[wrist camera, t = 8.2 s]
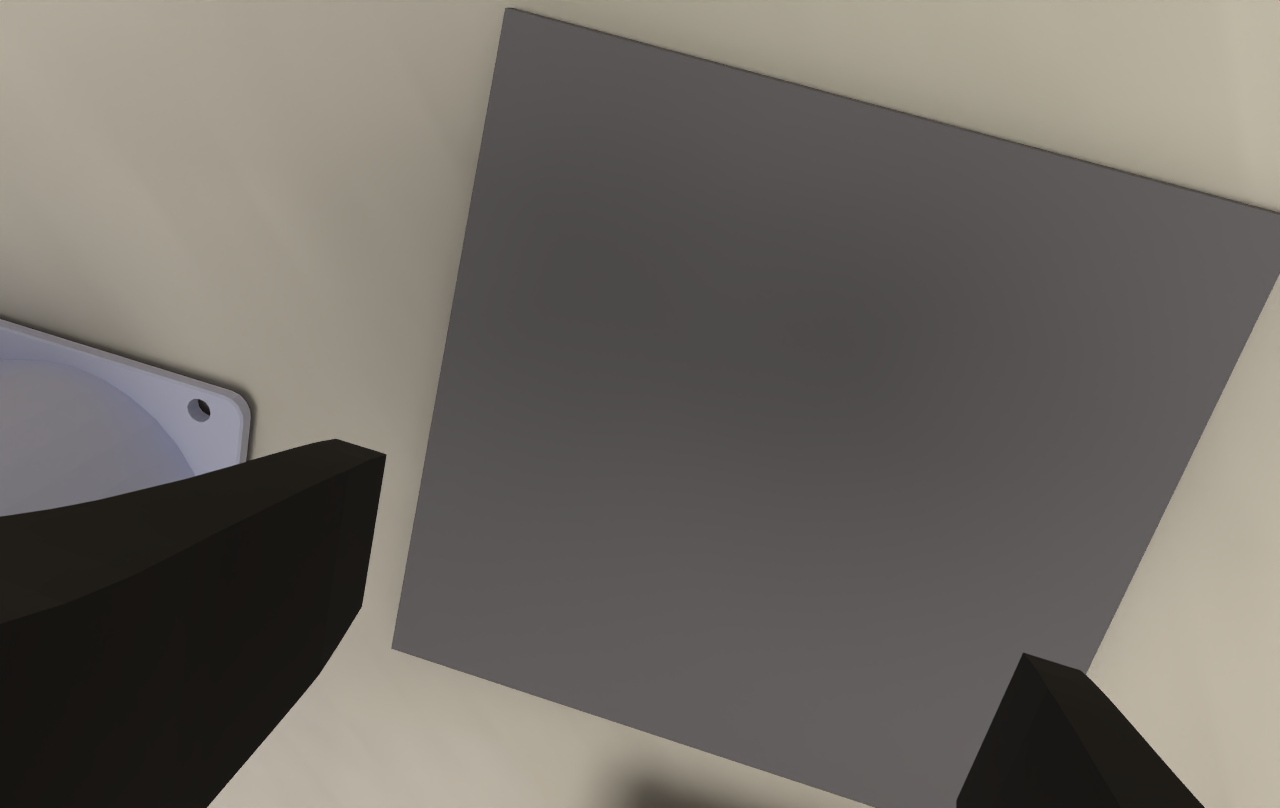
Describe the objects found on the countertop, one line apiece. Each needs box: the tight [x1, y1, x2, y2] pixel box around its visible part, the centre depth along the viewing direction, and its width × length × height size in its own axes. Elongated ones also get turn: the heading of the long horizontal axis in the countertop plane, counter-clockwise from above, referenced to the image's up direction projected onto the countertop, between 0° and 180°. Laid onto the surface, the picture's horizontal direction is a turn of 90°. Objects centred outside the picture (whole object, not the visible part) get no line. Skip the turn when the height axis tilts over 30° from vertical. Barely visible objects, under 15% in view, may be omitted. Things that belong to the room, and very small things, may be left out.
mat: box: [392, 8, 1280, 808], centre depth 21 cm, size 14×14×1 cm
